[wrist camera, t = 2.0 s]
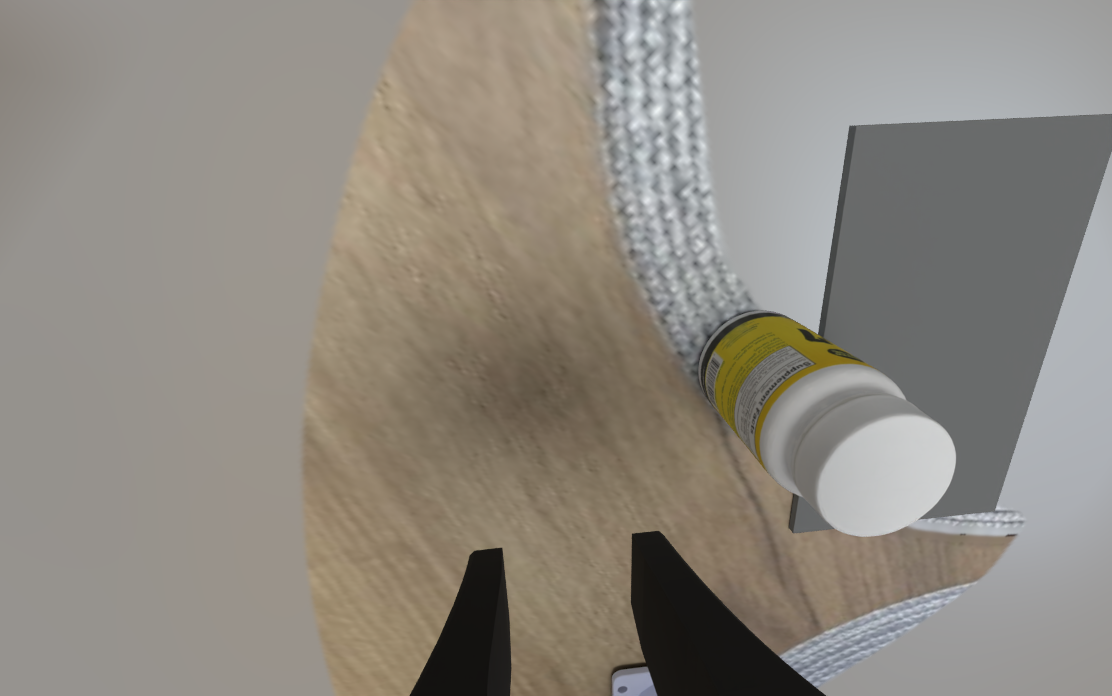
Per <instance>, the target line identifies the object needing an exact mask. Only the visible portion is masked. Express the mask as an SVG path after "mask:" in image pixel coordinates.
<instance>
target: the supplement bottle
mask: <svg viewBox="0 0 1112 696" xmlns="http://www.w3.org/2000/svg"><path fill="white" fill-rule="evenodd" d="M698 372H699V381H700V385H701V388H702V390H703V392H704V394H705V396H706V397H707V399H708V400H709V402H710V403H711V404H712V406H713V407H714V408H715V409H716V410H717V411H718V412H719V414H720V415H721V416H722V417H723V418H724V420H725V421H726V422H727V423H728V425H729V426H730V427H731V428H732V429H733V431H734V432H735V433H736V434H737V436H738V437H739V438H740V439H741V440H742V442H743V443H744V444H745V445H746V447H747V448H748V449H749V450H750V451H751V453H752V454H753V455H754V456H755V458H756V459H757V460H758V461H759V463H760V464H761V465H762V466H763V468H764V469H765V470H766V471H767V472H768V473H769V474H770V476H771V477H772V478H773V479H774V480H775V481H776V482H777V483H778V484H780V485H781V486H782V487H784V488H785V489H787V490H788V491H790V492H792V493H794V494H796V495H798V496H801V497H803V498H804V499H805V500H806V501H807V502H808V503H809V504H810V505H811V506H812V507H813V508H814V509H815V510H816V511H817V513H818V514H819V515H820V516H821V517H822V518H823V519H824V520H825V521H826V522H827V523H828V524H829V525H831V526H832V527H833V528H835V529H836V530H839V531H841V532H843V533H846V534H849V535H854V536H863V537H867V536H878V535H884V534H888V533H891V532H894V531H897V530H899V529H902V528H904V527H906V526H908V525H910V524H912V523H913V522H915V521H916V520H918V519H919V518H921V517H922V516H923V515H925V514H926V513H927V512H928V511H929V510H930V509H932V508H933V507H934V506H935V505H936V504H937V503H938V501H939V500H940V499H941V497H942V496H943V495H944V493H945V492H946V490H947V488H948V487H949V485H950V482H951V480H952V477H953V474H954V470H955V465H956V452H955V447H954V444H953V441H952V439H951V437H950V435H949V434H948V432H947V431H946V430H945V429H944V428H943V427H942V426H941V425H940V424H939V423H937V422H936V421H934V420H933V419H932V418H930V417H929V416H928V415H926V414H925V413H923V412H922V411H921V410H919V409H918V408H917V407H916V406H915V405H914V404H912V403H910V402H908V401H906V398H905V396H904V395H903V393H902V391H901V390H900V389H899V387H898V386H897V385H896V384H895V383H894V382H893V381H892V380H891V379H890V378H888V377H887V376H886V375H885V374H883V373H882V372H880V371H878V370H877V369H875V368H873V367H872V366H870V365H868V364H867V363H865V362H863V361H862V360H860V359H858V358H857V357H855V356H853V355H851V354H850V353H848V352H846V351H845V350H843V349H842V348H840V347H838V346H836V345H835V344H833V343H831V342H830V341H828V340H826V339H825V338H823V337H821V336H820V335H818V334H816V333H815V332H813V331H811V330H810V329H808V328H806V327H805V326H803V325H801V324H799V323H798V322H796V321H794V320H792V319H790V318H788V317H787V316H785V315H782V314H780V313H776V312H771V311H753V312H748V313H744V314H741V315H739V316H736V317H734V318H732V319H731V320H729V321H728V322H726V323H725V324H723V325H722V326H721V327H720V328H719V329H718V330H717V331H716V332H715V333H714V334H713V335H712V337H711V338H710V339H709V341H708V342H707V344H706V345H705V347H704V349H703V352H702V354H701V358H700V362H699V371H698Z"/></svg>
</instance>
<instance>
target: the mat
mask: <svg viewBox="0 0 1112 696" xmlns="http://www.w3.org/2000/svg"><path fill="white" fill-rule="evenodd" d="M1111 152H1112V114H1102V115H1080V116H1057V117H1035V118H1013V119H991V120H969V121H946V122H925V123H902V124H881V125H861V126H860V125H859V126H850V127H849V133H848V140H847V147H846V153H845V160H844V166H843V173H842V180H841V187H840V193H839V200H838V206H837V213H836V219H835V226H834V233H833V239H832V246H831V253H830V259H829V266H828V273H827V279H826V286H825V292H824V299H823V306H822V312H821V320H820V326H819V332H818V335H820V336H821V337H823V338H825V339H826V340H828V341H830V342H831V343H833V344H835V345H836V346H838V347H840V348H842V349H843V350H845V351H846V352H848V353H850V354H851V355H853V356H855V357H857V358H858V359H860V360H862V361H863V362H865V363H867V364H868V365H870V366H872V367H873V368H875V369H877V370H878V371H880V372H882V373H883V374H885V375H886V376H887V377H888V378H890V379H891V380H892V381H893V382H894V383H895V384H896V385H897V386H898V387H899V389H900V390H901V391H902V393H903V395H904V396H905V398H906V401H908V402H910V403H912V404H914V405H915V406H916V407H917V408H918V409H919V410H921V411H922V412H923V413H925V414H926V415H928V416H929V417H930V418H932V419H933V420H934V421H936V422H937V423H939V424H940V425H941V426H942V427H943V428H944V429H945V430H946V431H947V432H948V434H949V435H950V437H951V439H952V441H953V444H954V447H955V452H956V465H955V470H954V474H953V477H952V480H951V482H950V485H949V487H948V488H947V490H946V492H945V493H944V495H943V496H942V497H941V499H940V500H939V501H938V503H937V504H936V505H935V506H934V507H933V508H932V509H930V510H929V511H928V512H927V513H926V514H925V515H923V516H922V517H921V518H919V519H928V518H937V517H946V516H955V515H964V514H973V513H982V512H991V511H995V508H996V505H997V502H998V499H999V496H1000V493H1001V490H1002V487H1003V483H1004V481H1005V477H1006V474H1007V471H1008V468H1009V465H1010V462H1011V459H1012V456H1013V453H1014V450H1015V447H1016V443H1017V441H1018V438H1019V434H1020V431H1021V428H1022V425H1023V422H1024V419H1025V416H1026V413H1027V410H1028V407H1029V404H1030V401H1031V397H1032V394H1033V391H1034V388H1035V385H1036V382H1037V379H1038V376H1039V373H1040V370H1041V367H1042V364H1043V360H1044V358H1045V354H1046V351H1047V348H1048V345H1049V342H1050V339H1051V336H1052V333H1053V330H1054V327H1055V324H1056V320H1057V318H1058V314H1059V311H1060V308H1061V305H1062V302H1063V299H1064V296H1065V293H1066V290H1067V287H1068V284H1069V281H1070V278H1071V274H1072V271H1073V268H1074V265H1075V262H1076V259H1077V256H1078V253H1079V250H1080V247H1081V244H1082V241H1083V237H1084V235H1085V232H1086V228H1087V225H1088V222H1089V219H1090V216H1091V213H1092V210H1093V207H1094V204H1095V201H1096V197H1097V194H1098V192H1099V188H1100V185H1101V182H1102V179H1103V176H1104V173H1105V170H1106V167H1107V164H1108V161H1109V158H1110V154H1111ZM919 519H918V520H919ZM789 528H790V530H791V531H792V532H793V533H801V532H810V531H819V530H828V529H835V528H833V527H832V526H831V525H829V524H828V523H827V522H826V521H825V520H824V519H823V518H822V517H821V516H820V515H819V514H818V513H817V511H816V510H815V509H814V508H813V507H812V506H811V505H810V504H809V503H808V502H807V501H806V500H805V499H804V498H803V497H801V496H798V495H796V494H794V498H793V504H792V511H791V518H790V524H789Z"/></svg>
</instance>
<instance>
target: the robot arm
mask: <svg viewBox="0 0 1112 696" xmlns="http://www.w3.org/2000/svg"><path fill="white" fill-rule="evenodd" d="M631 605H632V610H633V614H634V618H635V623H636V627H637V632H638V636H639V640H640V644H641V649H642V652H643V655H644V658H645V661H646V664H647V667H639V668H632V669H624V670H619V671H617V672H615V673H614V674H613V676H612V696H826V695H824V694H823V693H822V692H821V691H819V690H818V689H817V688H816V687H814V686H813V685H812V684H811V683H809V682H808V681H807V680H806V679H804V678H803V677H802V676H801V675H800V674H798V673H797V672H796V671H795V670H794V669H792V668H791V667H790V666H789V665H788V664H787V663H785V662H784V661H783V660H782V659H781V658H780V657H778V656H777V655H776V654H775V653H774V652H773V651H772V650H771V649H769V648H768V647H767V646H766V645H765V644H764V643H763V642H762V641H761V640H760V639H759V638H757V637H756V636H755V635H754V634H753V633H752V632H751V631H750V630H749V629H748V628H747V627H746V626H745V625H744V624H743V623H742V622H741V621H740V620H739V619H738V618H737V617H736V616H735V615H734V614H733V613H732V612H731V611H730V610H729V609H728V608H727V607H726V606H725V605H724V604H723V603H722V602H721V601H720V600H719V599H718V597H717V596H716V595H715V594H714V593H713V592H712V591H711V590H710V589H709V588H708V587H707V586H706V585H705V584H704V582H703V581H702V580H701V579H700V578H699V577H698V576H697V575H696V573H695V572H694V571H693V570H692V569H691V568H690V567H689V565H688V564H687V563H686V562H685V561H684V559H683V558H682V557H681V556H680V555H679V554H678V552H677V551H676V550H675V549H674V547H673V546H672V545H671V544H670V542H669V541H668V540H667V539H666V537H665V536H664V535H663V534H662V533H661V532H660V531H653V532H644V533H635V534H632V570H631ZM510 684H511V646H510V622H509V609H508V599H507V589H506V580H505V570H504V560H503V550H502V548H495V549H486V550H477V551H474V552H473V553H472V554H471V555H470V556H469V561H468V565H467V568H466V571H465V575H464V578H463V581H462V584H461V586H460V589H459V592H458V594H457V597H456V600H455V602H454V605H453V607H452V610H451V612H450V614H449V616H448V619H447V621H446V623H445V626H444V628H443V630H442V633H441V635H440V637H439V639H438V641H437V644H436V646H435V647H434V649H433V651H432V653H431V655H430V657H429V659H428V661H427V663H426V665H425V667H424V669H423V671H422V673H421V675H420V677H419V679H418V681H417V683H416V685H415V687H414V688H413V690H412V692H411V694H410V696H510Z"/></svg>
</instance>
